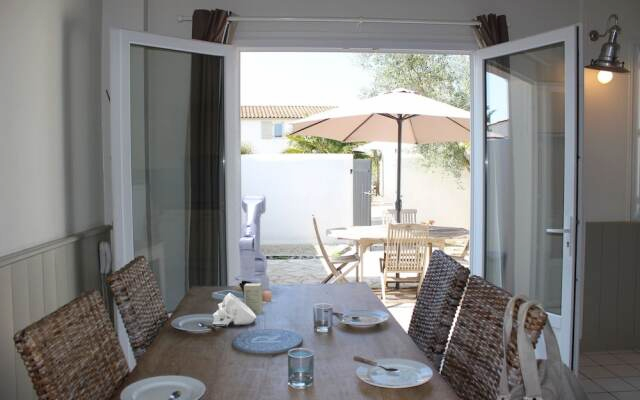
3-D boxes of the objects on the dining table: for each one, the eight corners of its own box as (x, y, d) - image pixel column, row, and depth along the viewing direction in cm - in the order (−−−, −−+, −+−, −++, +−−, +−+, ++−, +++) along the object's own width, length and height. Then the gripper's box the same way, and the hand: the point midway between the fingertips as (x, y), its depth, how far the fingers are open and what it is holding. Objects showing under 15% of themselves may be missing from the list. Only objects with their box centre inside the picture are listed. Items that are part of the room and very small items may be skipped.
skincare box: (263, 315, 228) (262, 283, 227) (260, 318, 224) (260, 285, 223) (246, 314, 229) (246, 282, 228) (243, 317, 224) (243, 285, 224)
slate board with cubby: (240, 295, 263) (240, 287, 262) (277, 304, 246) (277, 295, 246) (212, 301, 252) (212, 292, 252) (249, 310, 235) (249, 301, 235)
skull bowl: (208, 317, 219) (226, 288, 220) (241, 336, 221) (259, 308, 221) (206, 324, 209) (225, 294, 209) (240, 344, 211) (259, 315, 211)
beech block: (240, 293, 259) (240, 284, 259) (247, 294, 257) (247, 285, 257) (234, 295, 256) (234, 286, 256) (242, 296, 254) (242, 286, 254)
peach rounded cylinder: (266, 299, 248) (266, 289, 248) (273, 301, 245) (273, 291, 245) (259, 301, 245) (259, 291, 245) (266, 302, 242) (266, 292, 242)
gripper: (228, 265, 244) (228, 299, 245) (251, 270, 234) (252, 304, 235) (241, 263, 249) (242, 296, 250) (265, 267, 239) (265, 301, 240)
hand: (247, 300), depth 243 cm, fingers closed
